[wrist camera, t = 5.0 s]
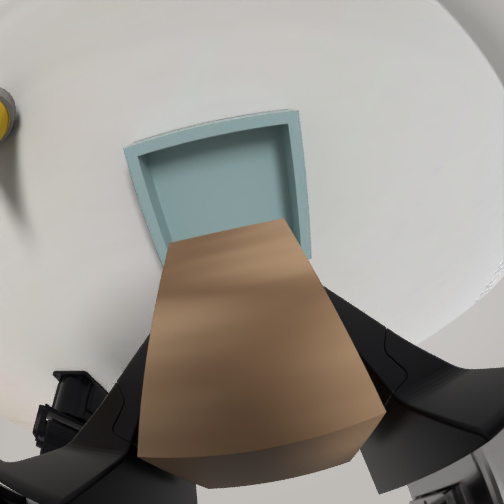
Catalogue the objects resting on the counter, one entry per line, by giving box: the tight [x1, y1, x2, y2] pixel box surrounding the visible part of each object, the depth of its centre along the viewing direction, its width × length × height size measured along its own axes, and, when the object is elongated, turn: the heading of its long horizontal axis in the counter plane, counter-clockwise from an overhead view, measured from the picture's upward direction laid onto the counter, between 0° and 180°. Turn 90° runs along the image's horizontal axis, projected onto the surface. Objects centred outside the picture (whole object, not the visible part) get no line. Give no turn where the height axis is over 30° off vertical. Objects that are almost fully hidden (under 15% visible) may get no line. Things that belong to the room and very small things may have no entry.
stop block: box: [137, 218, 386, 489], centre depth 7 cm, size 4×4×7 cm
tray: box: [123, 109, 312, 267], centre depth 17 cm, size 10×10×2 cm
